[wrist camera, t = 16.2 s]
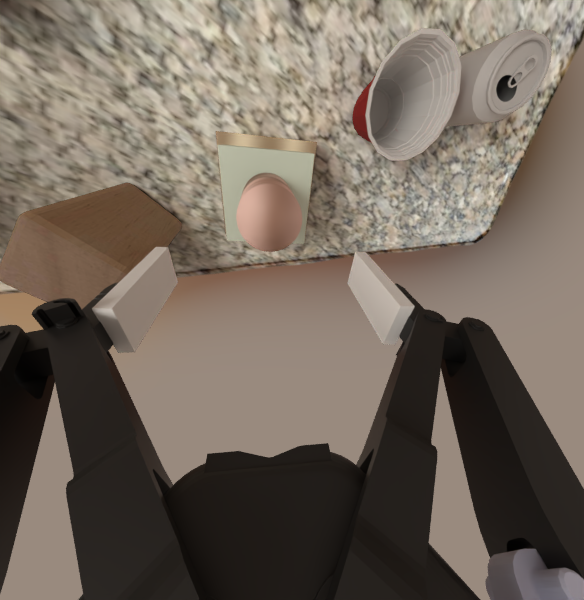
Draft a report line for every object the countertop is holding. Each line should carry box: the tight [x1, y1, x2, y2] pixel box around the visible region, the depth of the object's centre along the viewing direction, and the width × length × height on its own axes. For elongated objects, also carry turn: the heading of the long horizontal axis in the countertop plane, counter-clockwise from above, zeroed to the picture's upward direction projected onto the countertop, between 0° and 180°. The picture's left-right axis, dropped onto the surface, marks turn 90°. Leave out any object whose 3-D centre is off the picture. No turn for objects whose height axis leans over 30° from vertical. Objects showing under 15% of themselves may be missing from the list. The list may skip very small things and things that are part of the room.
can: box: [445, 29, 552, 127], centre depth 28 cm, size 8×8×12 cm
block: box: [0, 183, 182, 309], centre depth 31 cm, size 10×10×20 cm
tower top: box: [217, 145, 315, 244], centre depth 32 cm, size 12×12×5 cm
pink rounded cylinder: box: [236, 173, 302, 252], centre depth 27 cm, size 7×7×9 cm
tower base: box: [216, 131, 317, 234], centre depth 36 cm, size 14×14×5 cm
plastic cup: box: [352, 28, 461, 160], centre depth 28 cm, size 11×11×12 cm
